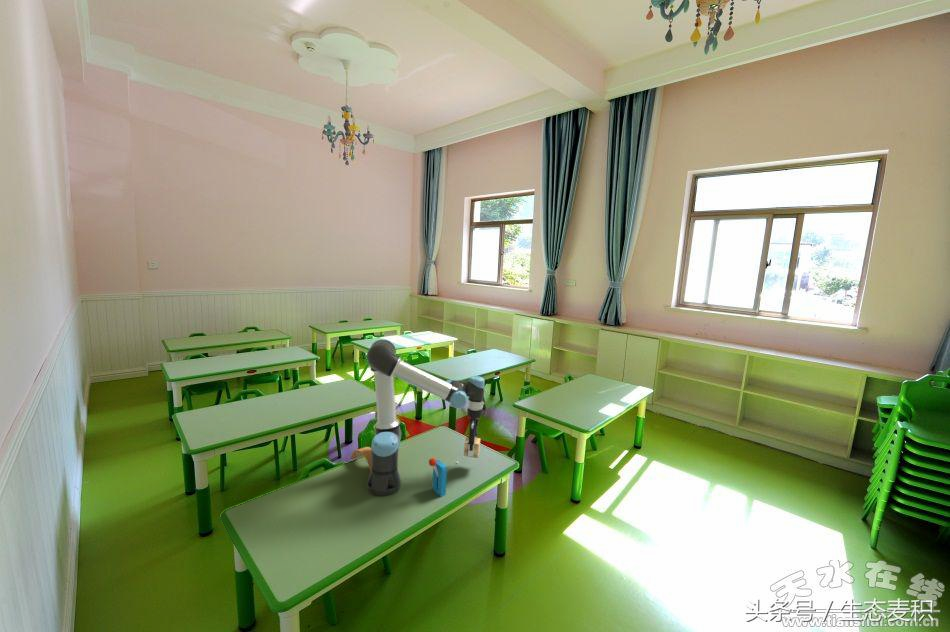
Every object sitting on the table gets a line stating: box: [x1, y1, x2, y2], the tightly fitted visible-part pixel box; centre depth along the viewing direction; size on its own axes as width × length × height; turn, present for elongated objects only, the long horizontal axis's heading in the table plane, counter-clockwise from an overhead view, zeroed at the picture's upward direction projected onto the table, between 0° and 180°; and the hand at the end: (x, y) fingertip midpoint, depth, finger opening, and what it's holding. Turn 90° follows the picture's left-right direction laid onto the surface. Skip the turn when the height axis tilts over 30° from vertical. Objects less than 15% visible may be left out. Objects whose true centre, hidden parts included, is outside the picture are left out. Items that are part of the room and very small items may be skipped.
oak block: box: [463, 436, 481, 459], centre depth 192 cm, size 7×7×7 cm
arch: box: [350, 446, 372, 474], centre depth 192 cm, size 6×20×10 cm, turn 46°
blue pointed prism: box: [428, 457, 448, 497], centre depth 171 cm, size 7×7×18 cm
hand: (471, 452), depth 193 cm, fingers closed on oak block, 7 cm apart
